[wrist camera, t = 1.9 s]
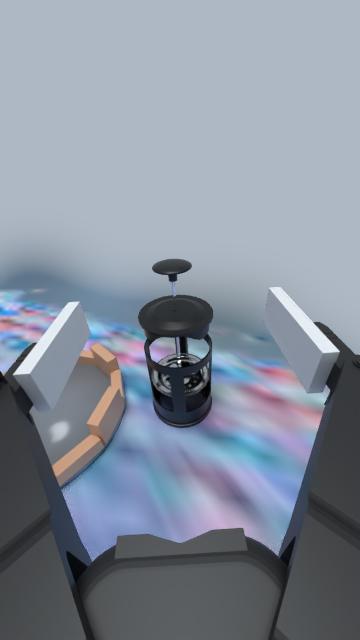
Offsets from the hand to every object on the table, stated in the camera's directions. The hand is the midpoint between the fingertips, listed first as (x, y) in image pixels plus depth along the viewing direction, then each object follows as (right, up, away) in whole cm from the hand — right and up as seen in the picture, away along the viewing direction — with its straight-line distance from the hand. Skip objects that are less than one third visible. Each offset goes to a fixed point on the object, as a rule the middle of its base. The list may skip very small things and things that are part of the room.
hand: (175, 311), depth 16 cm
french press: (+1, -14, +21) cm, 25 cm away
